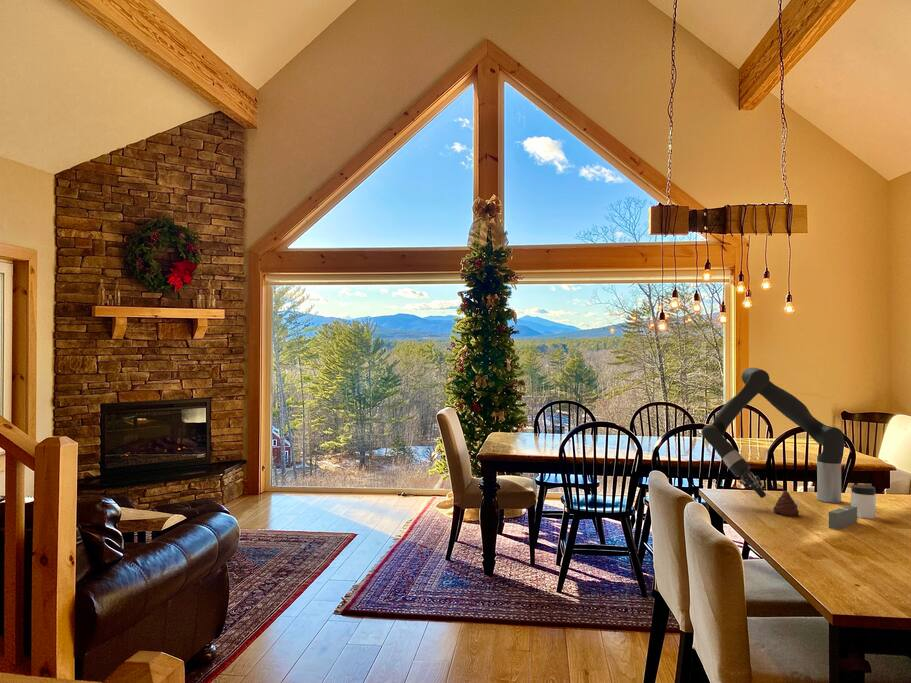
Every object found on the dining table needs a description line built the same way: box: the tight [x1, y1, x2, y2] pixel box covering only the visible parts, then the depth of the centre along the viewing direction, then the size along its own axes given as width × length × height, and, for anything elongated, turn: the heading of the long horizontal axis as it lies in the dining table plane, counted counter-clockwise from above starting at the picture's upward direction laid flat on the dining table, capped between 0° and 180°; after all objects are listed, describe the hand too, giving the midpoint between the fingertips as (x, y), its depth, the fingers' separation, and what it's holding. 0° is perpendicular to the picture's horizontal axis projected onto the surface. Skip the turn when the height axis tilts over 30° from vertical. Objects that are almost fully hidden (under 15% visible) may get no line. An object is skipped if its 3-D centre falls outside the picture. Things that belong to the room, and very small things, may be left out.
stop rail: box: [828, 505, 858, 531], centre depth 239 cm, size 18×3×6 cm, turn 127°
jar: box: [850, 484, 877, 520], centre depth 253 cm, size 9×8×12 cm
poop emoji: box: [772, 490, 800, 518], centre depth 255 cm, size 10×8×9 cm
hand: (764, 496), depth 263 cm, fingers closed
